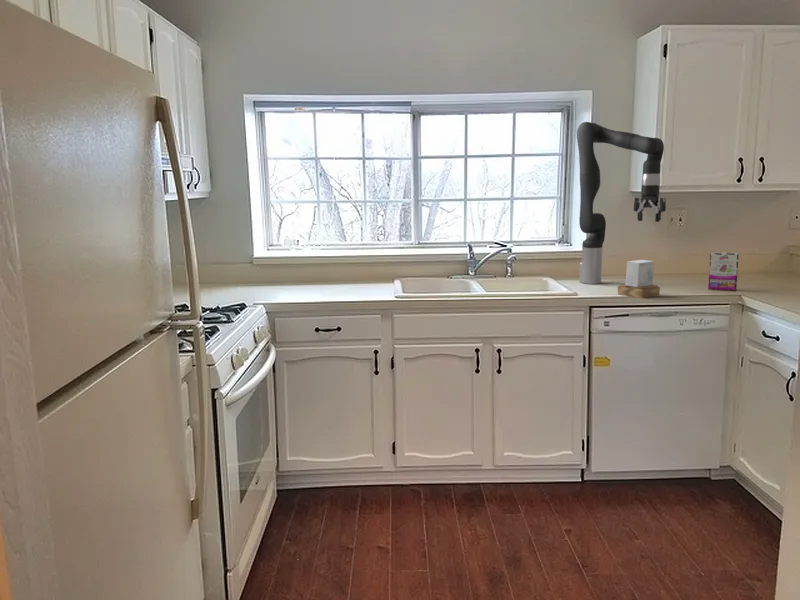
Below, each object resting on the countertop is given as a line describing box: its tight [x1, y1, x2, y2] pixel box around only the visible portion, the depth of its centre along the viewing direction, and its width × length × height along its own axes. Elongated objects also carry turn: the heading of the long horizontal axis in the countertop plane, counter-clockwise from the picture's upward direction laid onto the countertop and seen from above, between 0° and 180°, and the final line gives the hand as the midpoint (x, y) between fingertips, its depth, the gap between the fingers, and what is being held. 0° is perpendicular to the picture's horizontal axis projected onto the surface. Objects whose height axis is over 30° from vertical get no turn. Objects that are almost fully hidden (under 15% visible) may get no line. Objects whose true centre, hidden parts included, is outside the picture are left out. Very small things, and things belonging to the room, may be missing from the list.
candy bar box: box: [708, 251, 740, 291], centre depth 277 cm, size 11×5×16 cm, turn 62°
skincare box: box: [625, 259, 655, 287], centre depth 268 cm, size 10×6×10 cm, turn 124°
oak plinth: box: [617, 283, 661, 299], centre depth 269 cm, size 12×12×4 cm
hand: (648, 221), depth 280 cm, fingers open, 8 cm apart
